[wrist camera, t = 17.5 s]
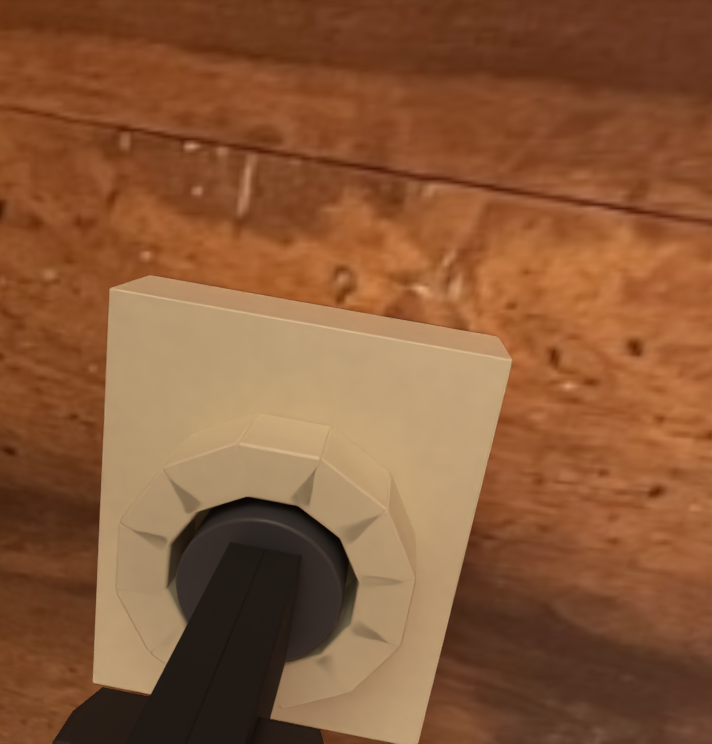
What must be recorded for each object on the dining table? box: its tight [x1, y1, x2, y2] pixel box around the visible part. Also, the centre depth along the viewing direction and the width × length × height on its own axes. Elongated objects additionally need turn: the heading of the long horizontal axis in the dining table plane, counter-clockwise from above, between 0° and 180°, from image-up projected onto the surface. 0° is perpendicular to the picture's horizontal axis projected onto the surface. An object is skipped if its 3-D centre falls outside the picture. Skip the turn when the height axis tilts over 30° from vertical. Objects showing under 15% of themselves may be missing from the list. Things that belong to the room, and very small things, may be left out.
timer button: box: [176, 497, 349, 661], centre depth 14 cm, size 4×4×2 cm
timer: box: [93, 275, 513, 744], centre depth 15 cm, size 11×9×4 cm
